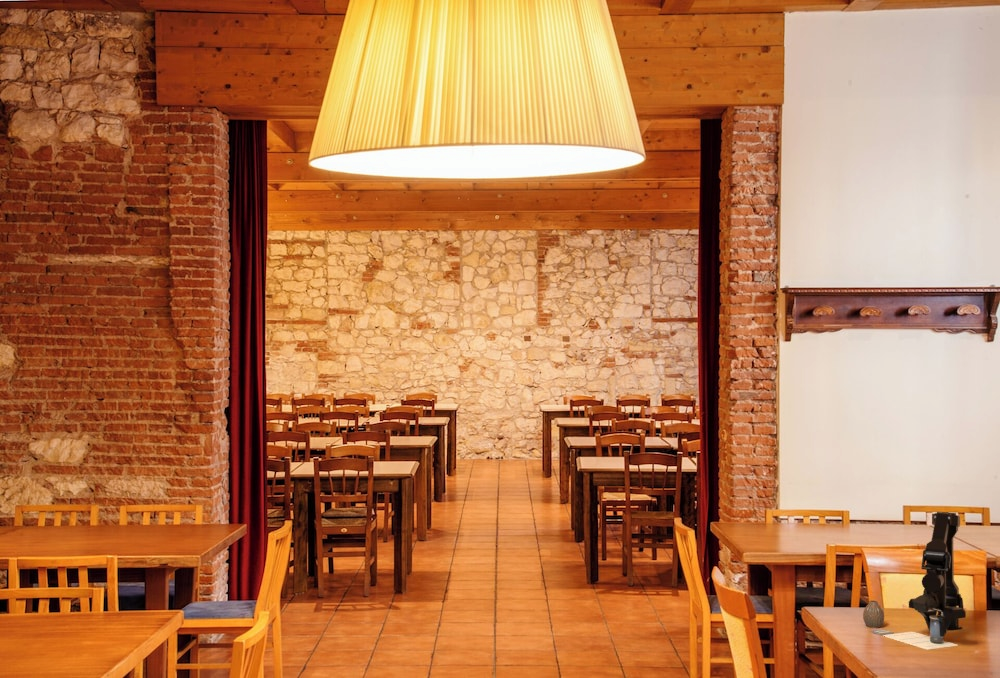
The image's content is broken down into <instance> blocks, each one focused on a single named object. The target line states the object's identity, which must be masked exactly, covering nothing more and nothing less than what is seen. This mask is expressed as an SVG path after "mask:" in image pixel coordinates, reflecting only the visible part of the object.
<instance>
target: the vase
mask: <svg viewBox="0 0 1000 678" xmlns="http://www.w3.org/2000/svg"><path fill="white" fill-rule="evenodd" d="M862 619H863V623H864V625H866V626H867V627H868V628H873V629H877V628H880V627H882V626H883V624H884V621H885V613H884V610H883V608H882V607H881V606H880V604H879V602H878V601H877V600H869V602H868V604H867V605H866V606H865V608H864V609H863V613H862Z"/></svg>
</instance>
